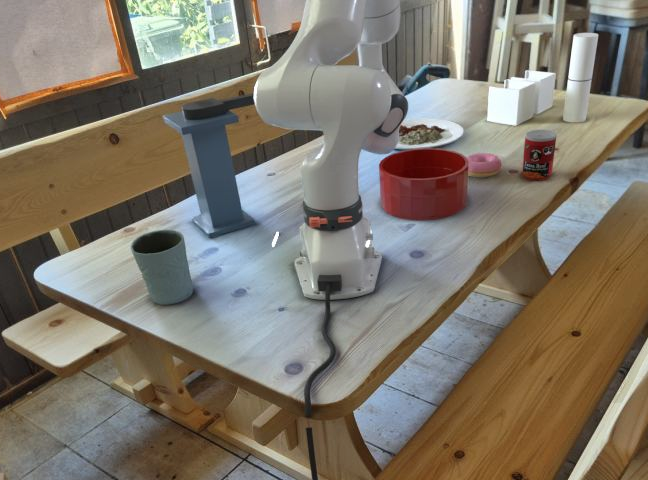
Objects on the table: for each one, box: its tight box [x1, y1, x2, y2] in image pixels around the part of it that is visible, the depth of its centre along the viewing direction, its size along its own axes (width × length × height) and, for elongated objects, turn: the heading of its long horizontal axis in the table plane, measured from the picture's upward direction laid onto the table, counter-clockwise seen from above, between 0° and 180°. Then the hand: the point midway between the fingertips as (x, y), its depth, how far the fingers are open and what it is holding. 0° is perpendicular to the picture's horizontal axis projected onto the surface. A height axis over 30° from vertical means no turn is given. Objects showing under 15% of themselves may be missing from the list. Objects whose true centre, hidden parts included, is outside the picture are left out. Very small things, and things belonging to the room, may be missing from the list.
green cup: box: [130, 229, 194, 306], centre depth 118 cm, size 10×10×12 cm
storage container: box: [486, 69, 557, 127], centre depth 202 cm, size 25×11×11 cm, turn 139°
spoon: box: [181, 92, 255, 120], centre depth 135 cm, size 18×7×2 cm, turn 122°
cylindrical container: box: [562, 32, 599, 123], centre depth 189 cm, size 7×7×25 cm
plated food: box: [394, 117, 464, 151], centre depth 191 cm, size 30×30×3 cm
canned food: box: [521, 129, 557, 182], centre depth 157 cm, size 8×8×11 cm
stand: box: [162, 110, 256, 239], centre depth 141 cm, size 13×13×26 cm
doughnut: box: [466, 152, 503, 178], centre depth 163 cm, size 11×11×4 cm
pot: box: [378, 147, 469, 221], centre depth 148 cm, size 22×22×10 cm
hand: (300, 105), depth 145 cm, fingers open, 8 cm apart
